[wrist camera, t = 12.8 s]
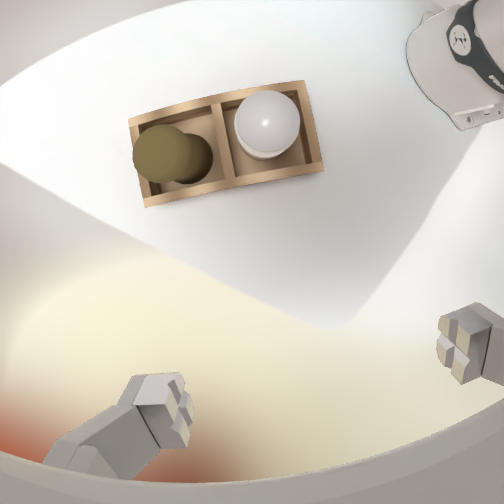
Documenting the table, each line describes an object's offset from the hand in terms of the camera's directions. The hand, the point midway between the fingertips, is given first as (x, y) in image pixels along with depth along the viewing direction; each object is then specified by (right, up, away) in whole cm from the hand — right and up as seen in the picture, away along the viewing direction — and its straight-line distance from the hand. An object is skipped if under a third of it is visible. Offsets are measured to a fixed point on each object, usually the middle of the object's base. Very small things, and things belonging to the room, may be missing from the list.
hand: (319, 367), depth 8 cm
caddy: (-5, +16, +26) cm, 31 cm away
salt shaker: (-1, +16, +25) cm, 30 cm away
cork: (-9, +14, +26) cm, 31 cm away
